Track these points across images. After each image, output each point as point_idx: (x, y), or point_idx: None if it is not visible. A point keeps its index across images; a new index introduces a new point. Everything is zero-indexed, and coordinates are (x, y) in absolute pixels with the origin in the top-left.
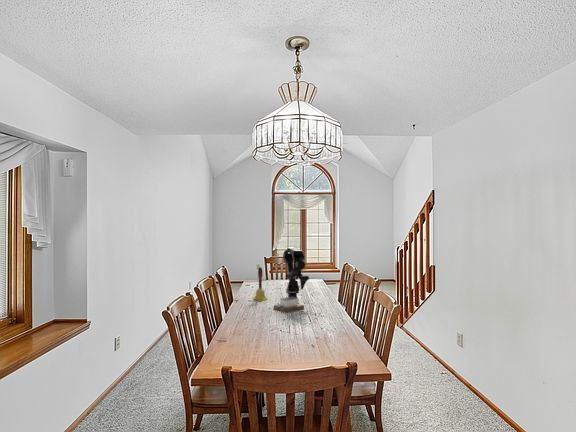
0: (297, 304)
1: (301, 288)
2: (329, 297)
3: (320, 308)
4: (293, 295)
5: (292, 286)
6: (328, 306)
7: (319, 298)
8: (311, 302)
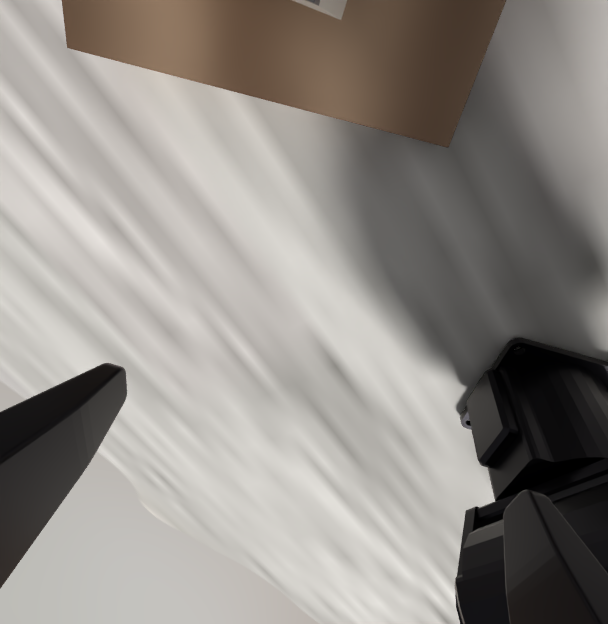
0: (203, 26)
1: (75, 379)
2: (280, 587)
3: (8, 221)
4: (529, 435)
5: (557, 532)
6: (43, 344)
7: (326, 555)
8: (291, 423)
